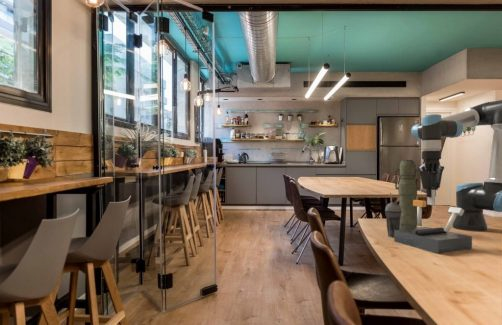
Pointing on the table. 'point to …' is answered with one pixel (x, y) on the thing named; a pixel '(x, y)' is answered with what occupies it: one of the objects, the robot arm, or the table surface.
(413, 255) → the table surface
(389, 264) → the table surface
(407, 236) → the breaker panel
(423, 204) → the orange mallet
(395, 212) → the beverage cup
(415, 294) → the table surface
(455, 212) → the white toy hammer
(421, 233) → the cord bundle
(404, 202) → the thermos
